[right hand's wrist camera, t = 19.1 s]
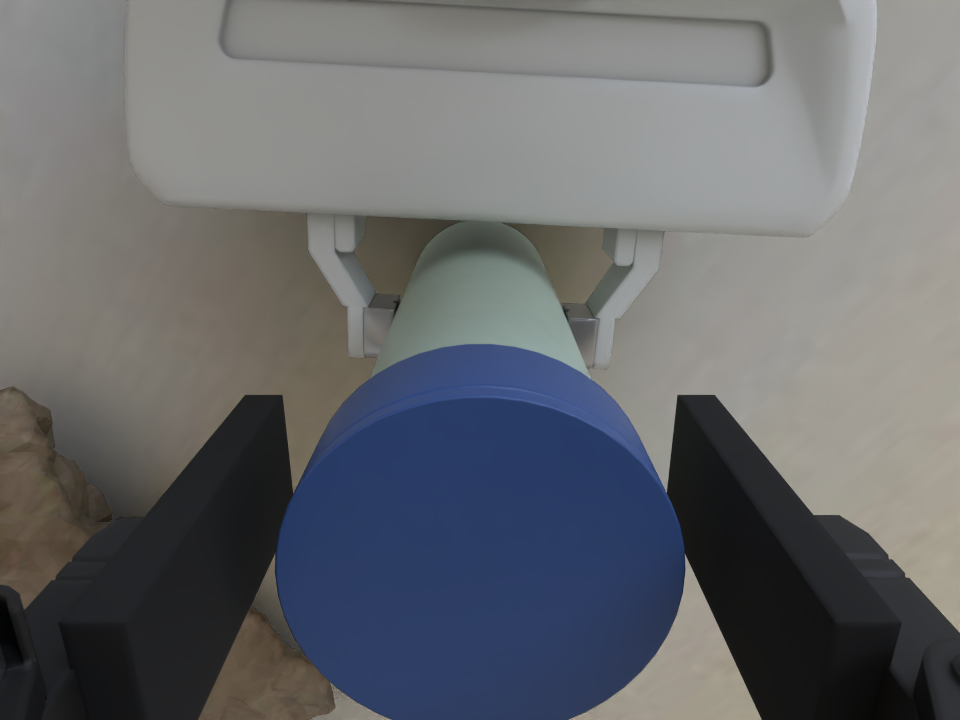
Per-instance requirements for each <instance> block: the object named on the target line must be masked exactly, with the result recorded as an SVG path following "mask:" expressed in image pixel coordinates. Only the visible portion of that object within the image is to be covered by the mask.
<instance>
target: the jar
mask: <svg viewBox="0 0 960 720" xmlns="http://www.w3.org/2000/svg"><path fill="white" fill-rule="evenodd" d="M464 344H496V345H504V346H513V347H518V348H522V349H526V350H530V351H534V352H538V353H541V354H544V355H546V356H549V357H551V358H554V359H557V360H559V361H561V362H563V363H565V364H567V365H569V366H571V367H572V368H574V369H576V370H578V371H580V372H582V373H583V374H584V375H586V376H587V377H588V378H590V379H591V377H590V375H589V372H588V370H587V368H586V365H585V363H584V360H583V358H582V356H581V353H580V351H579V348H578V346H577V343H576V341H575V339H574V336H573V334H572V331H571V329H570V327H569V324H568V322H567V319H566V317H565V314H564V312H563V310H562V307H561V305H560V302H559V300H558V298H557V295H556V293H555V290H554V288H553V285H552V283H551V281H550V278H549V276H548V273H547V271H546V269H545V266H544V264H543V261H542V259H541V257H540V255H539V253H538V252H537V250H536V248H535V247H534V246H533V244H532V243H531V242H530V241H529V240H528V239H527V238H526V237H525V236H524V235H523V234H521V233H520V232H518V231H517V230H516V229H514V228H512V227H510V226H508V225H505V224H503V223H497V222H477V221H463V222H460V223H457V224H454V225H452V226H450V227H448V228H446V229H444V230H443V231H441V232H440V233H438V234H437V235H436V236H435V237H434V238H433V239H432V240H431V241H430V242H429V243H428V244H427V245H426V247H425V248H424V250H423V251H422V253H421V255H420V257H419V259H418V261H417V263H416V266H415V268H414V271H413V273H412V275H411V278H410V280H409V283H408V285H407V288H406V290H405V292H404V295H403V297H402V300H401V302H400V305H399V307H398V309H397V312H396V314H395V317H394V319H393V322H392V324H391V326H390V329H389V331H388V334H387V336H386V338H385V341H384V343H383V346H382V348H381V351H380V353H379V355H378V358H377V360H376V363H375V365H374V368H373V370H372V372H371V375H370V377H369V379H370V378H372V377H373V376H374V375H376V374H377V373H379V372H381V371H382V370H384V369H386V368H388V367H390V366H391V365H393V364H395V363H397V362H399V361H401V360H404V359H406V358H409V357H411V356H414V355H416V354H419V353H423V352H426V351H430V350H434V349H438V348H442V347H448V346H456V345H464Z"/></svg>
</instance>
